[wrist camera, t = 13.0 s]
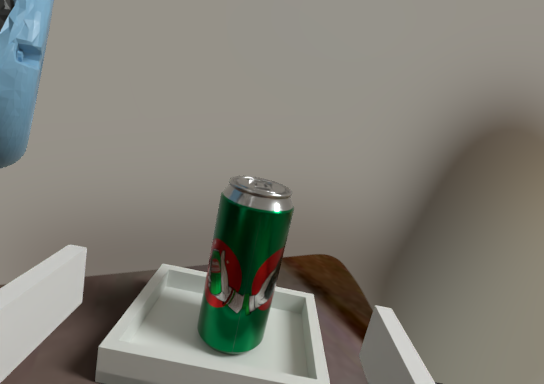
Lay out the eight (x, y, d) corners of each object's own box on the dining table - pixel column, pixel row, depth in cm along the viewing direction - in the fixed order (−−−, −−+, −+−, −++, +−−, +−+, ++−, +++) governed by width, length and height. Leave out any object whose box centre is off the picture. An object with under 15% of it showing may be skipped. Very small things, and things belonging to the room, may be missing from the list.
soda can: (258, 317, 28) (289, 182, 25) (266, 362, 23) (305, 201, 21) (198, 311, 27) (223, 170, 24) (193, 357, 22) (224, 187, 20)
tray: (94, 381, 20) (98, 346, 19) (159, 287, 31) (162, 263, 30) (321, 425, 20) (331, 392, 20) (307, 317, 31) (313, 294, 30)
